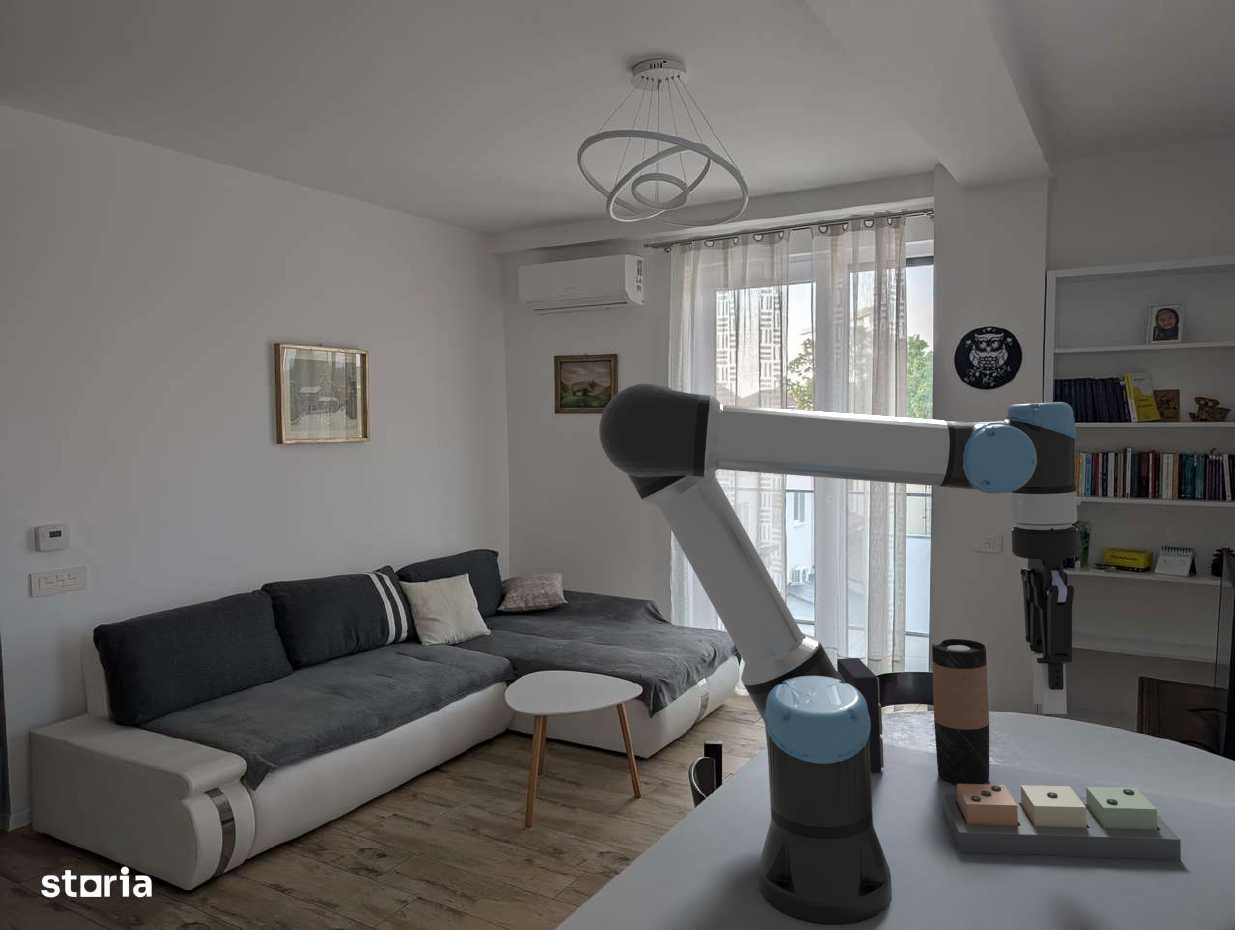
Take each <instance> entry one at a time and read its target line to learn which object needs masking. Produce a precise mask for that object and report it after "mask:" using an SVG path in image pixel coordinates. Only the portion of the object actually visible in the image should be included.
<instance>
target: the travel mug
mask: <svg viewBox="0 0 1235 930" xmlns="http://www.w3.org/2000/svg"><path fill="white" fill-rule="evenodd" d="M931 656H932V691H933V692H932V694H933V697H932V698H933V719H934V720H933V722H934V723H933V724H934V736H935V737H934V738H935V739H934V740H935V750H936V751H935V753H936V764H937V765H936V767H937V775H938V777H939V779H940V780H942V781H943V782H944V783H947V784H949V785H953V786H956V787H957V784H988V782H989V780H990V712H989V690H988V688H989V687H988V669H987V665H988V664H987V648H986V645H985V644H983V643H982V642H979V641H977V640H970V639H963V638H962V639H959V638H951V639H950V638H948V639H943V640H942V641H941V642H940V643H939V644H934V643H931Z"/></svg>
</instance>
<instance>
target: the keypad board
mask: <svg viewBox="0 0 1235 930" xmlns="http://www.w3.org/2000/svg"><path fill="white" fill-rule="evenodd" d="M1011 796H1012V798H1013V799H1014V801H1015V803H1016V804H1017V815H1018V826H1007V825H975V824H966V822H965V820H964V818H963V816H962V814H961V812H960V809H959V807H958V799H957V793H942V795H941V797H942V812H943V815H944V817H945V820H946V822H947V824H948V826H949V829H950V832H951V835H952V837H953V838H954V842H955V844H956V847H957V848H958V851H959V852H960V853H962V852H963V853H982V854H983V853H987V854H1009V855H1010V854H1011V855H1034V854H1039V855H1038V856H1065V857H1066V856H1067V857H1069V856H1070V857H1089V858H1090V857H1091V858H1092V857H1095V858H1117V859H1120V858H1121V859H1122V858H1123V859H1142V860H1143V859H1144V860H1145V859H1150V860H1171V861H1173V860H1174V861H1175V860H1176V861H1181V860H1182V852H1181V846H1182V844H1181V839H1180V837H1178V836H1177V835H1176V833H1175V832H1174V830H1172V829H1171V828H1170V827H1169V825H1167V824H1166V823H1165V822H1164V821H1163V819H1162V818H1161V817H1160V816H1159V815H1158V814H1157V830H1134V829H1103V828H1102V827H1101V826H1100V825H1099V824H1098V822H1097V821H1096V820H1095V818H1094V817H1093V816H1092V815H1091V813H1090V812H1089V811H1088V809H1087V796H1078V798H1079V799H1080V800H1081V801H1082V803H1083V804H1084V805H1085V807H1086V822H1087V828H1071V827H1039V826H1033V825H1032V824H1031V822H1030V820H1029V819H1028V817H1027V816H1026V814H1025V812H1024V811H1023V809H1022V807H1021V794H1020V795H1016V794H1014V795H1013V794H1011ZM1178 859H1179V860H1178Z"/></svg>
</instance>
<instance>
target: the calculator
mask: <svg viewBox="0 0 1235 930" xmlns="http://www.w3.org/2000/svg"><path fill="white" fill-rule="evenodd" d="M836 666H837V667H836V669H837V672H839V673H840V675H841V676H842V678H843V679H844V681H845V683H848V684H850V685H852V686H853V687H855V688H856V689H857V690H858V691H860V693H861V694H862V695H863V697H864V698H865V701H866V703H867V709H868V714H869V717H870V724H871V729H870V736H869V743H870V766H871V772H872V773H881V772H882V768H884V767H885V765H884V764H885V763H884V740H883V737H882V736H881V735H883V714H882V713H883V712H882V705H881V703H880V702H881V701H880V700H881V698H880V697H881V695H880V693H881V692H880V679H879V678H878V677H877V675H876V674H875V673H874V672H873V671H872V670H871V669H870V668H869V667H868V666H867V665H866V664H865V663H864V662H863V661H862V660H861V659H860V658H859V657H848V658H837V660H836Z"/></svg>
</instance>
